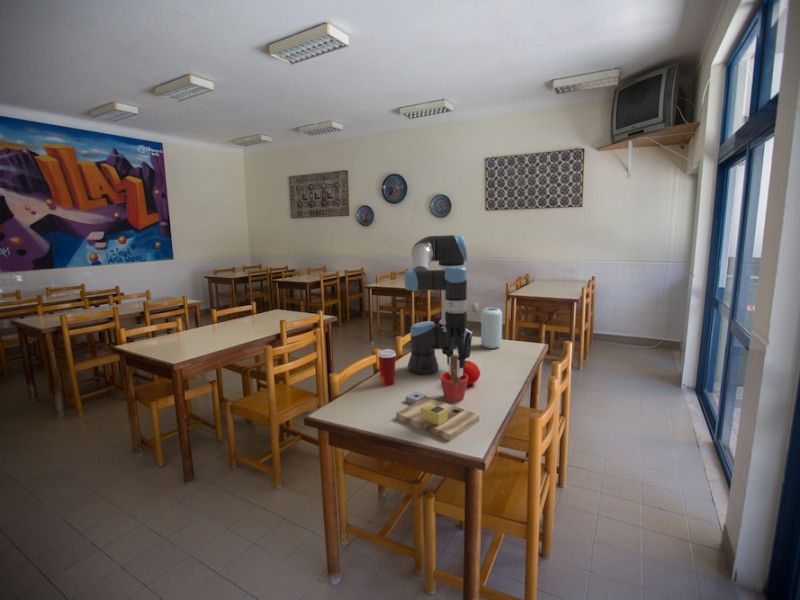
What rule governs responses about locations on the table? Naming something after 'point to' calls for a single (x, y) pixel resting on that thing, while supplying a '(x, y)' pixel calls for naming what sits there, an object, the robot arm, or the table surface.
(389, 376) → the coffee cup
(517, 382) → the table surface
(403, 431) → the table surface
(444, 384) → the flower pot
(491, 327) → the vase
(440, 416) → the block
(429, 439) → the table surface
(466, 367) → the tomato
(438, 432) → the subfloor panel
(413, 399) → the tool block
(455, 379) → the brown rounded cylinder
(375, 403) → the table surface
